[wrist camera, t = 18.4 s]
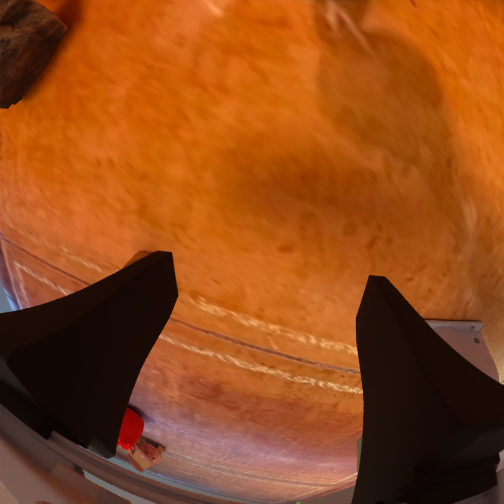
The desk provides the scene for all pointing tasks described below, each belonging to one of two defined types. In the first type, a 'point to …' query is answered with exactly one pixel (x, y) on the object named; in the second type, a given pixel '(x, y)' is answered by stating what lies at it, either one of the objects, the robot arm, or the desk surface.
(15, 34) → the decorative rock
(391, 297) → the robot arm
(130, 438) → the flower
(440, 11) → the desk surface
